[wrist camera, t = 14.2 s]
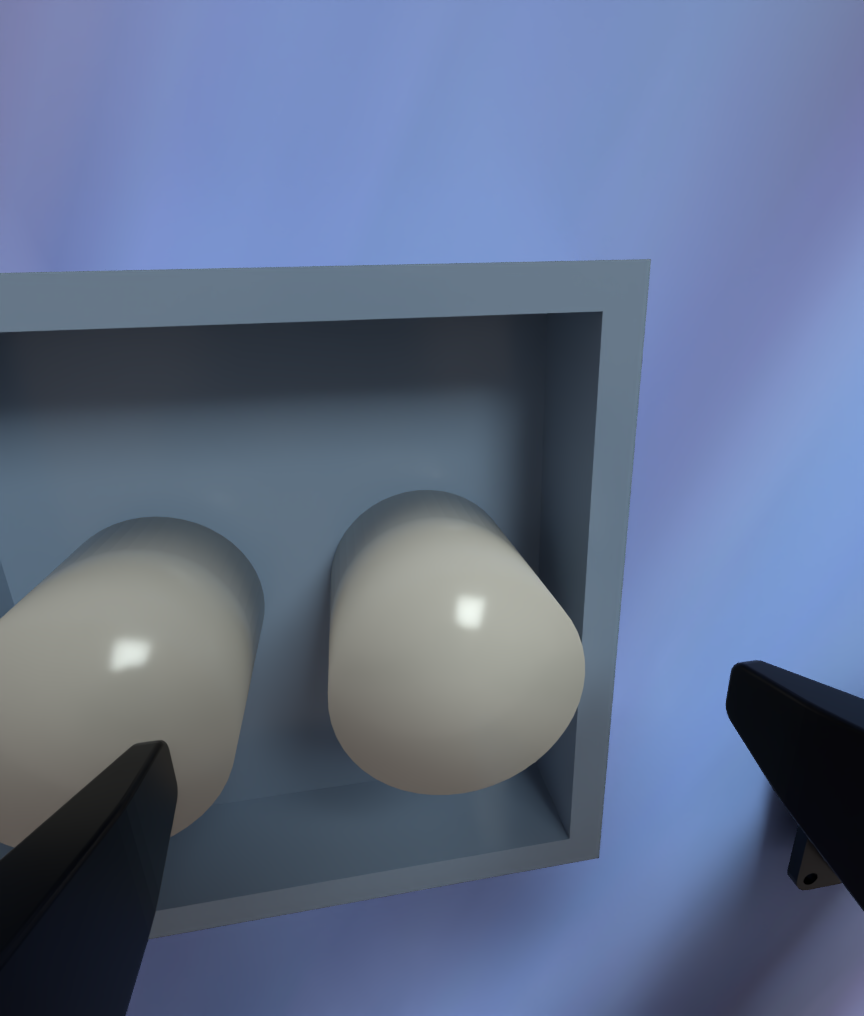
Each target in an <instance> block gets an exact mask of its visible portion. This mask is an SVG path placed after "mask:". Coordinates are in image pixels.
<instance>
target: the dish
mask: <svg viewBox="0 0 864 1016" xmlns="http://www.w3.org/2000/svg"><path fill="white" fill-rule="evenodd" d="M650 264H651V259H642V260H595V261H548V262H501V263H454V264H407V265H359V266H312V267H265V268H218V269H171V270H124V271H76V272H29V273H0V618H2V617H3V616H4V615H5V614H6V613H7V612H8V611H9V610H10V609H11V608H13V607H14V606H15V605H16V604H17V603H18V602H19V601H20V600H21V599H22V598H24V597H25V596H26V595H27V594H28V593H29V592H30V591H31V590H32V589H33V588H34V587H36V586H37V585H38V584H39V583H40V582H41V581H42V580H43V579H44V578H45V577H47V576H48V575H49V574H50V573H51V572H52V571H53V570H54V569H55V568H56V567H57V566H59V565H60V564H61V563H62V562H63V561H64V560H65V559H66V558H67V557H68V556H70V555H71V554H72V553H73V552H74V551H75V550H76V549H77V548H78V547H79V546H81V545H82V544H83V543H84V542H85V541H86V540H88V539H89V538H90V537H91V536H93V535H94V534H96V533H98V532H99V531H101V530H103V529H105V528H107V527H109V526H111V525H113V524H116V523H119V522H123V521H126V520H130V519H136V518H141V517H171V518H177V519H183V520H187V521H190V522H194V523H197V524H200V525H202V526H205V527H207V528H209V529H211V530H213V531H215V532H217V533H219V534H220V535H222V536H223V537H225V538H226V539H228V540H229V541H230V542H232V543H233V544H234V545H235V546H236V547H237V548H238V549H239V550H240V551H241V552H242V553H243V554H244V555H245V556H246V558H247V559H248V560H249V561H250V563H251V564H252V566H253V568H254V569H255V571H256V573H257V575H258V577H259V580H260V582H261V586H262V589H263V593H264V601H265V615H264V620H263V625H262V630H261V635H260V640H259V644H258V649H257V654H256V659H255V663H254V668H253V673H252V678H251V682H250V687H249V692H248V697H247V701H246V706H245V711H244V716H243V720H242V725H241V730H240V735H239V739H238V744H237V749H236V754H235V758H234V763H233V767H232V770H231V773H230V776H229V778H228V781H227V783H226V784H225V786H224V788H223V790H222V792H221V793H220V795H219V796H218V797H217V799H216V800H215V801H214V803H213V804H212V805H211V806H210V807H209V809H208V810H207V811H206V812H205V813H204V814H203V815H202V816H201V817H199V818H198V819H197V820H196V821H194V822H193V823H192V824H191V825H189V826H188V827H187V828H185V829H183V830H182V831H180V832H179V833H177V834H175V835H174V836H172V837H170V841H169V847H168V852H167V857H166V862H165V868H164V873H163V878H162V883H161V889H160V894H159V899H158V903H157V908H156V913H155V917H154V920H153V924H152V928H151V931H150V935H149V938H148V939H153V938H159V937H164V936H170V935H175V934H181V933H186V932H192V931H197V930H203V929H208V928H214V927H219V926H225V925H230V924H236V923H241V922H247V921H253V920H258V919H264V918H269V917H275V916H280V915H286V914H291V913H297V912H302V911H308V910H313V909H319V908H324V907H330V906H335V905H341V904H347V903H352V902H358V901H363V900H369V899H374V898H380V897H385V896H391V895H396V894H402V893H407V892H413V891H418V890H424V889H429V888H435V887H441V886H446V885H452V884H457V883H463V882H468V881H474V880H479V879H485V878H490V877H496V876H501V875H507V874H512V873H518V872H523V871H529V870H535V869H540V868H546V867H551V866H557V865H562V864H568V863H573V862H579V861H584V860H590V859H595V858H599V850H600V838H601V827H602V815H603V804H604V792H605V781H606V769H607V758H608V746H609V735H610V724H611V712H612V701H613V689H614V678H615V666H616V655H617V643H618V632H619V620H620V609H621V597H622V586H623V574H624V563H625V551H626V540H627V528H628V517H629V505H630V494H631V482H632V471H633V459H634V448H635V436H636V425H637V413H638V402H639V390H640V379H641V367H642V356H643V344H644V333H645V321H646V310H647V298H648V287H649V275H650ZM416 490H436V491H444V492H448V493H452V494H456V495H458V496H461V497H463V498H466V499H467V500H469V501H471V502H473V503H475V504H476V505H477V506H479V507H480V508H481V509H483V510H484V511H485V512H486V513H487V514H488V515H489V516H490V517H491V518H492V519H493V520H494V522H495V523H496V524H497V526H498V527H499V528H500V529H501V531H502V532H503V533H504V534H505V536H506V537H507V538H508V540H509V541H510V542H511V543H512V545H513V546H514V547H515V548H516V550H517V551H518V552H519V554H520V555H521V556H522V557H523V559H524V560H525V561H526V562H527V564H528V565H529V566H530V568H531V569H532V570H533V571H534V573H535V574H536V575H537V576H538V578H539V579H540V580H541V582H542V583H543V584H544V585H545V587H546V588H547V589H548V590H549V592H550V593H551V594H552V596H553V597H554V598H555V599H556V601H557V602H558V603H559V604H560V606H561V607H562V608H563V610H564V611H565V612H566V614H567V615H568V616H569V618H570V619H571V620H572V622H573V624H574V626H575V628H576V630H577V632H578V634H579V637H580V640H581V643H582V646H583V652H584V658H585V679H584V686H583V691H582V695H581V698H580V702H579V704H578V707H577V709H576V712H575V714H574V716H573V718H572V720H571V721H570V723H569V725H568V727H567V728H566V730H565V731H564V732H563V734H562V735H561V736H560V738H559V739H558V740H557V742H556V743H555V744H554V745H553V746H552V747H551V748H550V749H549V750H548V751H547V752H546V753H545V754H544V755H543V756H542V757H540V758H539V759H538V760H537V761H536V762H535V763H533V764H532V765H530V766H529V767H527V768H526V769H525V770H523V771H522V772H520V773H518V774H516V775H514V776H513V777H511V778H509V779H507V780H505V781H502V782H500V783H498V784H495V785H493V786H490V787H487V788H483V789H480V790H476V791H472V792H467V793H461V794H452V795H427V794H418V793H413V792H408V791H404V790H400V789H398V788H395V787H392V786H389V785H387V784H385V783H383V782H381V781H379V780H377V779H375V778H373V777H372V776H371V775H369V774H368V773H366V772H365V771H363V770H362V769H361V768H360V767H359V766H358V765H357V764H356V763H354V762H353V761H352V759H351V758H350V757H349V756H348V754H347V753H346V752H345V751H344V749H343V748H342V746H341V744H340V743H339V741H338V739H337V737H336V735H335V732H334V729H333V727H332V724H331V720H330V715H329V710H328V670H329V630H330V591H331V570H332V562H333V559H334V555H335V552H336V549H337V547H338V544H339V542H340V540H341V539H342V537H343V535H344V534H345V532H346V531H347V529H348V528H349V527H350V526H351V524H352V523H353V522H354V521H355V520H356V519H357V518H358V517H359V516H360V515H361V514H362V513H363V512H365V511H366V510H367V509H369V508H370V507H371V506H373V505H375V504H377V503H378V502H380V501H382V500H384V499H386V498H389V497H391V496H394V495H397V494H401V493H404V492H409V491H416ZM13 848H14V847H11V846H8V845H5V844H3V843H1V842H0V859H2V858H3V857H4V856H5V855H6V854H7V853H8V852H10V851H11V850H12V849H13Z"/></svg>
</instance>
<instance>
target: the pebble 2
mask: <svg viewBox="0 0 864 1016" xmlns="http://www.w3.org/2000/svg"><path fill="white" fill-rule="evenodd" d="M584 679H585V658H584V652H583V646H582V643H581V640H580V637H579V634H578V632H577V630H576V628H575V626H574V624H573V622H572V620H571V619H570V618H569V616H568V615H567V614H566V612H565V611H564V610H563V608H562V607H561V606H560V604H559V603H558V602H557V601H556V599H555V598H554V597H553V596H552V594H551V593H550V592H549V590H548V589H547V588H546V587H545V585H544V584H543V583H542V582H541V580H540V579H539V578H538V576H537V575H536V574H535V573H534V571H533V570H532V569H531V568H530V566H529V565H528V564H527V562H526V561H525V560H524V559H523V557H522V556H521V555H520V554H519V552H518V551H517V550H516V548H515V547H514V546H513V545H512V543H511V542H510V541H509V540H508V538H507V537H506V536H505V534H504V533H503V532H502V531H501V529H500V528H499V527H498V526H497V524H496V523H495V522H494V520H493V519H492V518H491V517H490V516H489V515H488V514H487V513H486V512H485V511H484V510H483V509H481V508H480V507H479V506H477V505H476V504H475V503H473V502H471V501H469V500H467V499H466V498H463V497H461V496H458V495H456V494H452V493H448V492H444V491H436V490H416V491H409V492H404V493H401V494H397V495H394V496H391V497H389V498H386V499H384V500H382V501H380V502H378V503H377V504H375V505H373V506H371V507H370V508H369V509H367V510H366V511H365V512H363V513H362V514H361V515H360V516H359V517H358V518H357V519H356V520H355V521H354V522H353V523H352V524H351V526H350V527H349V528H348V529H347V531H346V532H345V534H344V535H343V537H342V539H341V540H340V542H339V544H338V547H337V549H336V552H335V555H334V559H333V562H332V570H331V591H330V630H329V670H328V710H329V715H330V720H331V724H332V727H333V729H334V732H335V735H336V737H337V739H338V741H339V743H340V744H341V746H342V748H343V749H344V751H345V752H346V753H347V754H348V756H349V757H350V758H351V759H352V761H353V762H354V763H356V764H357V765H358V766H359V767H360V768H361V769H362V770H363V771H365V772H366V773H368V774H369V775H371V776H372V777H373V778H375V779H377V780H379V781H381V782H383V783H385V784H387V785H389V786H392V787H395V788H398V789H400V790H404V791H408V792H413V793H418V794H427V795H452V794H461V793H467V792H472V791H476V790H480V789H483V788H487V787H490V786H493V785H495V784H498V783H500V782H502V781H505V780H507V779H509V778H511V777H513V776H514V775H516V774H518V773H520V772H522V771H523V770H525V769H526V768H527V767H529V766H530V765H532V764H533V763H535V762H536V761H537V760H538V759H539V758H540V757H542V756H543V755H544V754H545V753H546V752H547V751H548V750H549V749H550V748H551V747H552V746H553V745H554V744H555V743H556V742H557V740H558V739H559V738H560V736H561V735H562V734H563V732H564V731H565V730H566V728H567V727H568V725H569V723H570V721H571V720H572V718H573V716H574V714H575V712H576V709H577V707H578V704H579V702H580V698H581V695H582V691H583V686H584Z"/></svg>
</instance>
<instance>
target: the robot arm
mask: <svg viewBox="0 0 864 1016" xmlns="http://www.w3.org/2000/svg"><path fill="white" fill-rule="evenodd" d="M726 710H727V714H728V717H729V719H730V721H731V722H732V724H733V726H734V727H735V729H736V730H737V732H738V734H739V735H740V737H741V738H742V740H743V742H744V743H745V745H746V746H747V748H748V749H749V751H750V753H751V754H752V756H753V757H754V759H755V761H756V762H757V764H758V765H759V767H760V769H761V770H762V772H763V773H764V775H765V777H766V778H767V780H768V781H769V783H770V785H771V786H772V788H773V789H774V791H775V792H776V794H777V795H778V797H779V798H780V800H781V801H782V803H783V804H784V806H785V807H786V809H787V810H788V811H789V813H790V814H791V815H792V817H793V818H794V820H795V821H796V822H797V824H798V828H797V832H796V837H795V841H794V845H793V849H792V853H791V858H790V862H789V866H788V870H787V874H788V876H789V877H790V878H791V880H792V881H793V882H794V883H795V885H796V886H797V887H798V888H799V889H801V890H810V889H815V888H820V887H825V886H830V885H835V884H840V883H843V885H844V886H845V887H846V889H847V890H848V891H849V892H850V894H851V895H852V896H853V898H854V899H855V900H856V902H857V903H858V904H859V906H860V907H861V908H862V910H863V911H864V699H862V698H859V697H857V696H854V695H851V694H849V693H846V692H843V691H841V690H838V689H835V688H833V687H830V686H827V685H825V684H822V683H819V682H817V681H814V680H811V679H809V678H806V677H803V676H801V675H798V674H795V673H793V672H790V671H787V670H785V669H782V668H779V667H777V666H774V665H771V664H769V663H766V662H763V661H758V660H755V661H747V662H740V663H737V664H735V665H734V666H733V668H732V670H731V674H730V680H729V686H728V692H727V698H726ZM177 797H178V786H177V780H176V776H175V771H174V767H173V763H172V759H171V754H170V750H169V747H168V745H167V743H166V742H165V741H163V740H155V741H147V742H140V743H136V744H134V745H132V746H131V747H130V748H128V749H127V750H126V751H125V752H124V753H123V754H122V755H120V756H119V757H118V758H117V759H116V760H115V761H113V762H112V763H111V764H110V765H109V766H108V767H107V768H105V769H104V770H103V771H102V772H101V773H100V774H98V775H97V776H96V777H95V778H94V779H93V780H92V781H90V782H89V783H88V784H87V785H86V786H85V787H83V788H82V789H81V790H80V791H79V792H78V793H77V794H75V795H74V796H73V797H72V798H71V799H70V800H68V801H67V802H66V803H65V804H64V805H63V806H62V807H60V808H59V809H58V810H57V811H56V812H55V813H53V814H52V815H51V816H50V817H49V818H48V819H47V820H45V821H44V822H43V823H42V824H41V825H40V826H38V827H37V828H36V829H35V830H34V831H33V832H32V833H30V834H29V835H28V836H27V837H26V838H25V839H23V840H22V841H21V842H20V843H19V844H18V845H17V846H15V847H14V848H13V849H12V850H11V851H10V852H8V853H7V854H6V855H5V856H4V857H3V858H2V859H0V1016H126V1012H127V1009H128V1005H129V1002H130V999H131V995H132V992H133V989H134V985H135V982H136V979H137V975H138V972H139V969H140V965H141V962H142V958H143V955H144V952H145V948H146V945H147V942H148V938H149V935H150V931H151V928H152V924H153V920H154V917H155V913H156V908H157V903H158V899H159V894H160V889H161V883H162V878H163V873H164V868H165V862H166V857H167V852H168V847H169V841H170V836H171V831H172V825H173V820H174V815H175V810H176V804H177Z"/></svg>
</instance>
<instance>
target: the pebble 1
mask: <svg viewBox="0 0 864 1016" xmlns="http://www.w3.org/2000/svg"><path fill="white" fill-rule="evenodd" d="M264 615H265V601H264V593H263V589H262V586H261V582H260V580H259V577H258V575H257V573H256V571H255V569H254V568H253V566H252V564H251V563H250V561H249V560H248V559H247V558H246V556H245V555H244V554H243V553H242V552H241V551H240V550H239V549H238V548H237V547H236V546H235V545H234V544H233V543H232V542H230V541H229V540H228V539H226V538H225V537H223V536H222V535H220V534H219V533H217V532H215V531H213V530H211V529H209V528H207V527H205V526H202V525H200V524H197V523H194V522H190V521H187V520H183V519H177V518H171V517H141V518H136V519H130V520H126V521H123V522H119V523H116V524H113V525H111V526H109V527H107V528H105V529H103V530H101V531H99V532H98V533H96V534H94V535H93V536H91V537H90V538H89V539H88V540H86V541H85V542H84V543H83V544H82V545H81V546H79V547H78V548H77V549H76V550H75V551H74V552H73V553H72V554H71V555H70V556H68V557H67V558H66V559H65V560H64V561H63V562H62V563H61V564H60V565H59V566H57V567H56V568H55V569H54V570H53V571H52V572H51V573H50V574H49V575H48V576H47V577H45V578H44V579H43V580H42V581H41V582H40V583H39V584H38V585H37V586H36V587H34V588H33V589H32V590H31V591H30V592H29V593H28V594H27V595H26V596H25V597H24V598H22V599H21V600H20V601H19V602H18V603H17V604H16V605H15V606H14V607H13V608H11V609H10V610H9V611H8V612H7V613H6V614H5V615H4V616H3V617H2V618H0V842H1V843H3V844H5V845H8V846H11V847H15V846H17V845H18V844H19V843H20V842H21V841H22V840H23V839H25V838H26V837H27V836H28V835H29V834H30V833H32V832H33V831H34V830H35V829H36V828H37V827H38V826H40V825H41V824H42V823H43V822H44V821H45V820H47V819H48V818H49V817H50V816H51V815H52V814H53V813H55V812H56V811H57V810H58V809H59V808H60V807H62V806H63V805H64V804H65V803H66V802H67V801H68V800H70V799H71V798H72V797H73V796H74V795H75V794H77V793H78V792H79V791H80V790H81V789H82V788H83V787H85V786H86V785H87V784H88V783H89V782H90V781H92V780H93V779H94V778H95V777H96V776H97V775H98V774H100V773H101V772H102V771H103V770H104V769H105V768H107V767H108V766H109V765H110V764H111V763H112V762H113V761H115V760H116V759H117V758H118V757H119V756H120V755H122V754H123V753H124V752H125V751H126V750H127V749H128V748H130V747H131V746H132V745H134V744H136V743H140V742H147V741H155V740H163V741H165V742H166V743H167V745H168V747H169V750H170V754H171V759H172V763H173V767H174V771H175V776H176V780H177V786H178V797H177V804H176V810H175V815H174V820H173V825H172V831H171V836H170V837H172V836H174V835H175V834H177V833H179V832H180V831H182V830H183V829H185V828H187V827H188V826H189V825H191V824H192V823H193V822H194V821H196V820H197V819H198V818H199V817H201V816H202V815H203V814H204V813H205V812H206V811H207V810H208V809H209V807H210V806H211V805H212V804H213V803H214V801H215V800H216V799H217V797H218V796H219V795H220V793H221V792H222V790H223V788H224V786H225V784H226V783H227V781H228V778H229V776H230V773H231V770H232V767H233V763H234V758H235V754H236V749H237V744H238V739H239V735H240V730H241V725H242V720H243V716H244V711H245V706H246V701H247V697H248V692H249V687H250V682H251V678H252V673H253V668H254V663H255V659H256V654H257V649H258V644H259V640H260V635H261V630H262V625H263V620H264Z"/></svg>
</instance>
